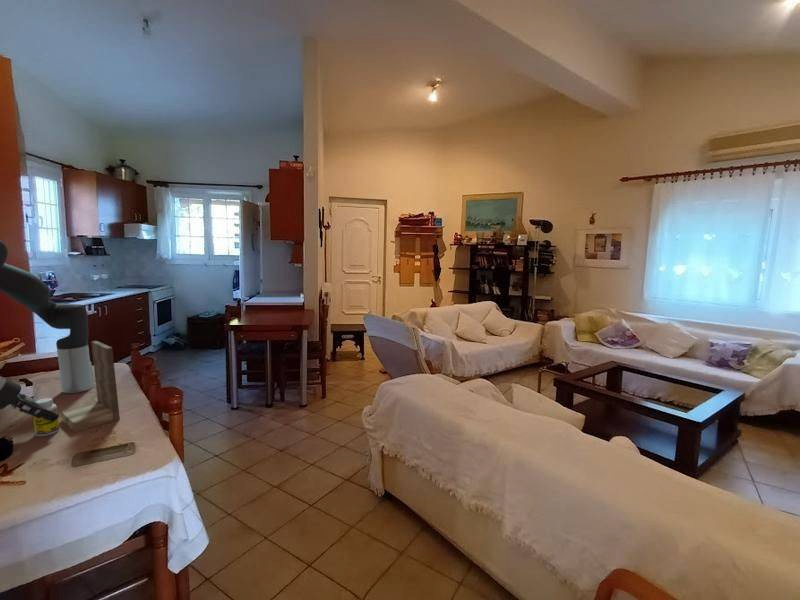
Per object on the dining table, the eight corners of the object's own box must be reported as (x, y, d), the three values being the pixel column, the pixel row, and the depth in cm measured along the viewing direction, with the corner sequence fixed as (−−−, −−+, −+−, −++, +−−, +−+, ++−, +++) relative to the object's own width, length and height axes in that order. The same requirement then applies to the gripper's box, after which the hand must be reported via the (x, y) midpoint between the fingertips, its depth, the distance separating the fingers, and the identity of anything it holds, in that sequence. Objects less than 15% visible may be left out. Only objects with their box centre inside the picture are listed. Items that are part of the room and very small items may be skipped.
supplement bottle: (33, 438, 117) (28, 405, 115) (37, 431, 121) (32, 399, 120) (58, 434, 120) (54, 401, 118) (61, 426, 124) (57, 395, 123)
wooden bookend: (61, 420, 129) (52, 348, 125) (104, 408, 138) (96, 340, 134) (75, 433, 120) (66, 356, 117) (119, 419, 129) (112, 347, 126)
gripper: (10, 383, 107) (70, 410, 119) (-2, 372, 116) (56, 398, 127) (-15, 409, 104) (50, 434, 115) (-25, 395, 112) (36, 420, 124)
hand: (53, 415), depth 121 cm, fingers open, 5 cm apart
